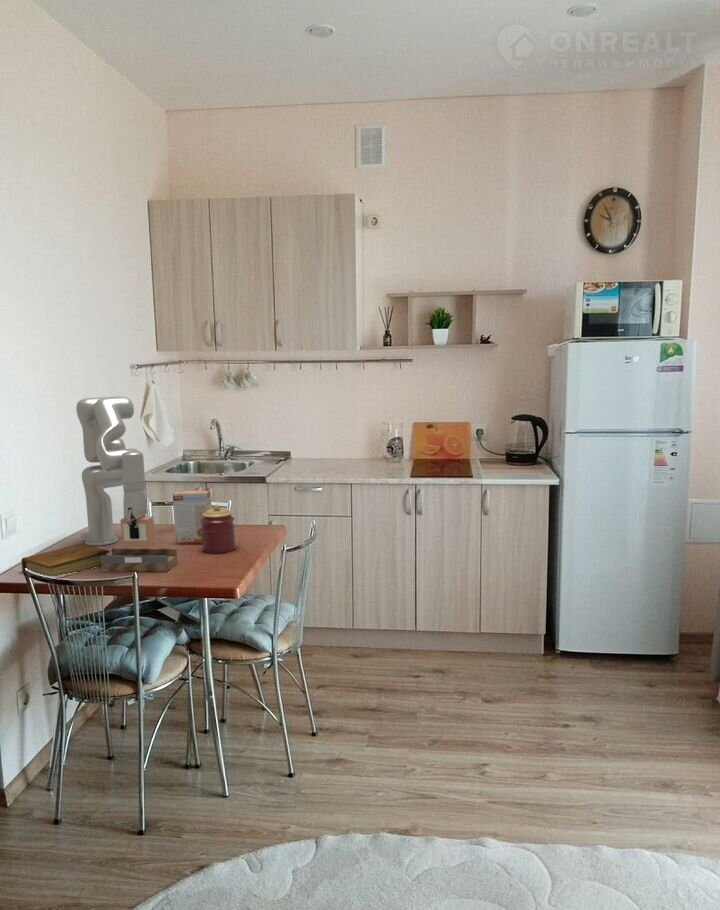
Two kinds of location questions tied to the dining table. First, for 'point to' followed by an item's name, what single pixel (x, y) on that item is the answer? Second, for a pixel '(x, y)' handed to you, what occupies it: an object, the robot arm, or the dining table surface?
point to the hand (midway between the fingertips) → (138, 536)
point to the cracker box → (190, 515)
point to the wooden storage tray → (139, 559)
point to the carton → (144, 533)
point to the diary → (65, 560)
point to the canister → (218, 530)
